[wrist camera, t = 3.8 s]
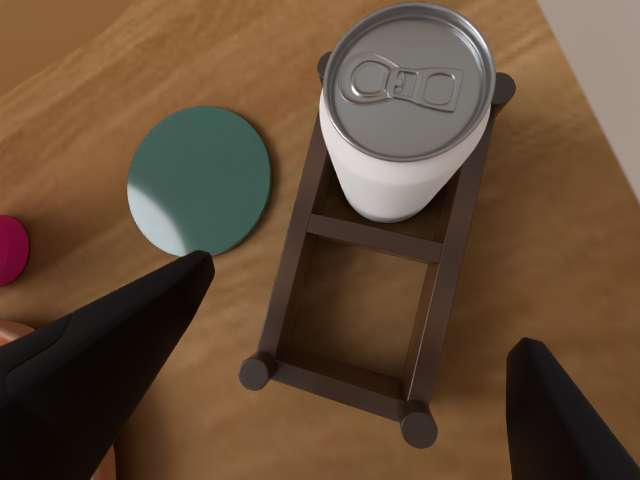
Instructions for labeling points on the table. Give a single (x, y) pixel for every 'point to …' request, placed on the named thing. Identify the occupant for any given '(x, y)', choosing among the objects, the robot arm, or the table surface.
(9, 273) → the pepper mill
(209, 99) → the table surface
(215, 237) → the coaster
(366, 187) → the can
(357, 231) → the rack
